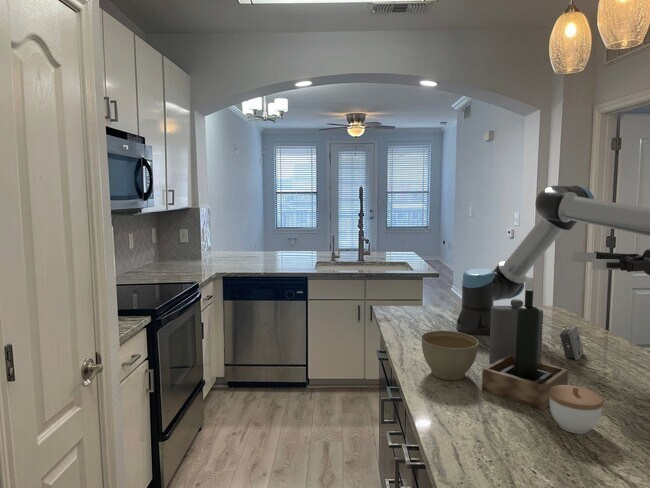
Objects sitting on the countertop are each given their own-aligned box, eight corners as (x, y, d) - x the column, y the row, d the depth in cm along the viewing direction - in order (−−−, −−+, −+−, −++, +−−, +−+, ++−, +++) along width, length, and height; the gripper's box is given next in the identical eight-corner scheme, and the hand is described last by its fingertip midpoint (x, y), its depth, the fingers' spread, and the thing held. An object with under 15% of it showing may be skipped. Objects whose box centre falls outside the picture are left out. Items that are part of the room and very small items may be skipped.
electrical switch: (578, 361, 144) (577, 332, 144) (560, 359, 148) (558, 331, 147) (583, 353, 152) (582, 326, 151) (566, 351, 155) (565, 324, 154)
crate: (481, 390, 123) (482, 368, 123) (508, 374, 134) (509, 354, 134) (542, 410, 112) (544, 386, 111) (567, 391, 123) (568, 369, 122)
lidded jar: (538, 416, 109) (540, 378, 108) (580, 414, 110) (583, 377, 109) (565, 440, 98) (567, 399, 97) (612, 438, 99) (615, 397, 98)
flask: (538, 361, 144) (541, 299, 142) (542, 368, 139) (545, 304, 136) (488, 357, 148) (490, 297, 146) (489, 364, 142) (492, 301, 140)
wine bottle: (512, 389, 122) (517, 278, 118) (514, 381, 127) (519, 274, 123) (535, 393, 119) (541, 280, 116) (536, 385, 124) (542, 276, 121)
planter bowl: (437, 389, 124) (438, 350, 123) (411, 367, 140) (411, 332, 138) (489, 382, 128) (490, 345, 127) (457, 362, 144) (458, 328, 143)
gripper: (691, 284, 115) (601, 282, 118) (637, 267, 139) (564, 266, 142) (694, 255, 114) (603, 253, 117) (639, 243, 138) (565, 242, 141)
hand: (581, 260), depth 129 cm, fingers open, 13 cm apart
